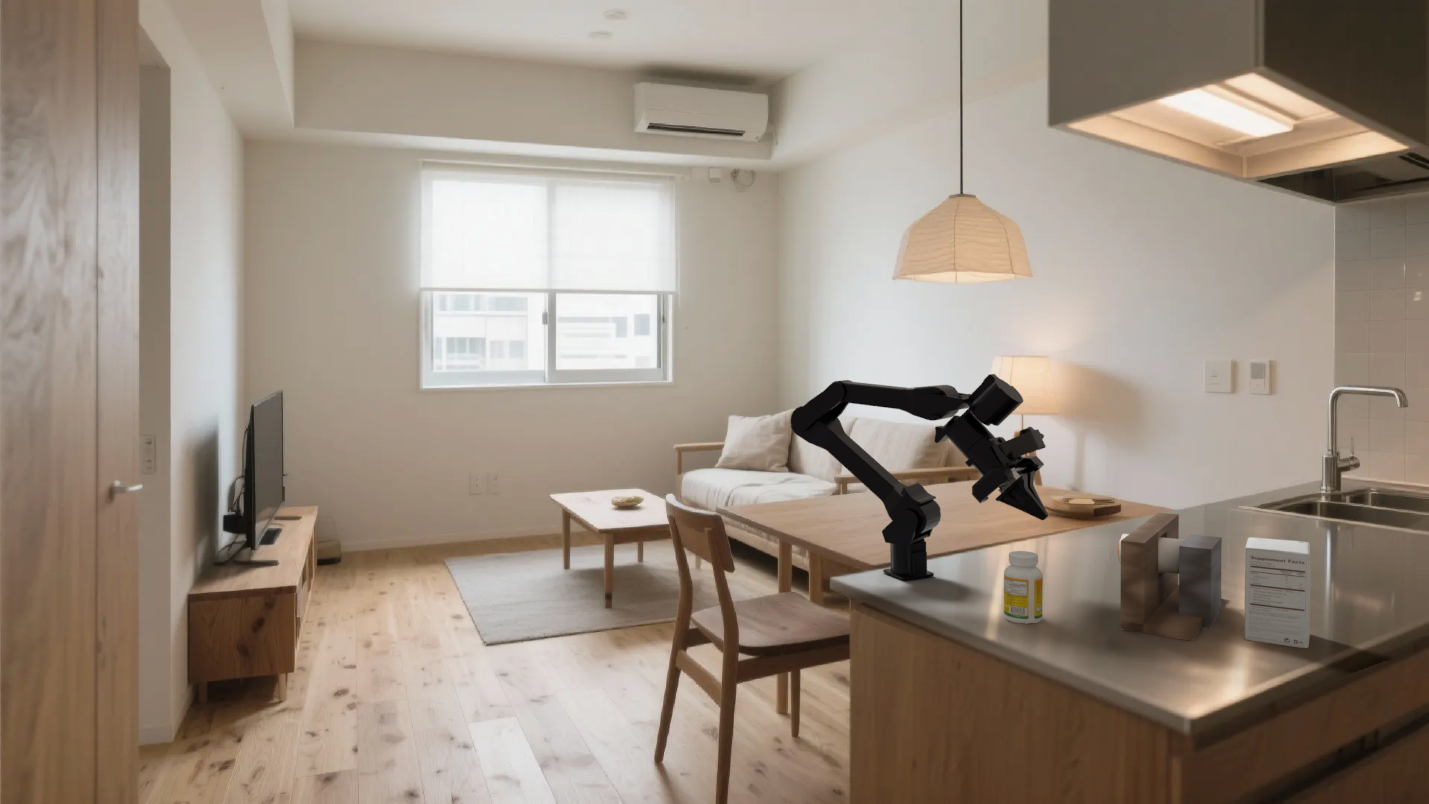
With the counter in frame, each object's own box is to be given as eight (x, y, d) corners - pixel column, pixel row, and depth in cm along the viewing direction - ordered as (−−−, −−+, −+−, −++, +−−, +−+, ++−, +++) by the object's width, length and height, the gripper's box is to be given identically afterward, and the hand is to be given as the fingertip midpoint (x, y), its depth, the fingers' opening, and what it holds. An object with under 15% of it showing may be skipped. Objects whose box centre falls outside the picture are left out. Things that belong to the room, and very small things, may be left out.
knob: (1116, 569, 135) (1116, 536, 134) (1124, 563, 139) (1125, 530, 138) (1178, 577, 130) (1178, 543, 129) (1185, 570, 134) (1185, 536, 133)
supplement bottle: (1013, 625, 129) (1012, 559, 128) (997, 614, 134) (997, 550, 133) (1049, 623, 129) (1049, 557, 129) (1032, 612, 135) (1032, 549, 134)
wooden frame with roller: (1117, 628, 126) (1117, 540, 125) (1154, 589, 145) (1155, 512, 144) (1201, 642, 120) (1201, 549, 119) (1228, 599, 139) (1229, 518, 138)
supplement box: (1246, 625, 126) (1247, 535, 126) (1310, 633, 122) (1311, 541, 121) (1242, 640, 120) (1243, 546, 119) (1309, 649, 116) (1310, 552, 115)
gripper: (992, 416, 138) (1066, 494, 132) (1031, 407, 152) (1099, 477, 147) (942, 463, 143) (1011, 541, 137) (985, 451, 158) (1049, 520, 152)
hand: (1045, 518), depth 143 cm, fingers closed
